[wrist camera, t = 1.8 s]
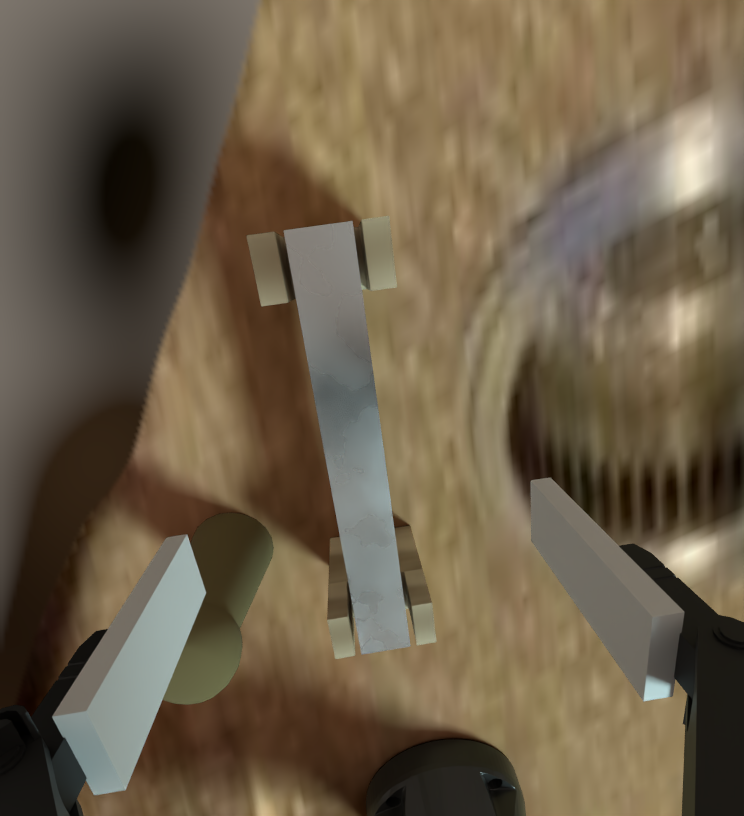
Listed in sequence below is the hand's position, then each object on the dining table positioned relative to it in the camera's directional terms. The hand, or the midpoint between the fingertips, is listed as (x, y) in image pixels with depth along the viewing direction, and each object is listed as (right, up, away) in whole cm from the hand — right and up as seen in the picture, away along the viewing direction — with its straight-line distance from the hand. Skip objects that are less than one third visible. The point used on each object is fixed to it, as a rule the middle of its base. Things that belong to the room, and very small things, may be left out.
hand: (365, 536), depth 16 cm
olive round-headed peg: (-10, -6, +16) cm, 20 cm away
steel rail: (-1, +2, +9) cm, 9 cm away
